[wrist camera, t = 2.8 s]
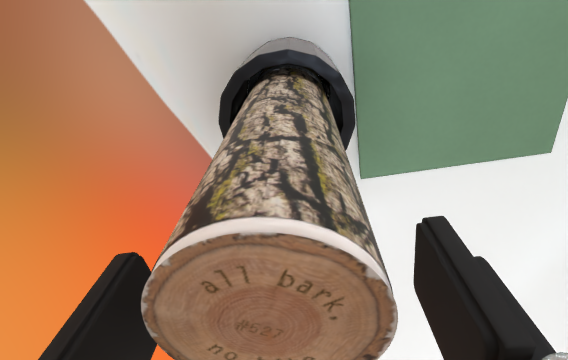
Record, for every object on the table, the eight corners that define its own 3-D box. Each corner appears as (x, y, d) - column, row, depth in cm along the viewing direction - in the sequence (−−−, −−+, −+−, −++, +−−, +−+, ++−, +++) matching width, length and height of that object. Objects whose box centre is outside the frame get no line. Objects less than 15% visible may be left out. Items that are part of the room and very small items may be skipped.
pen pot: (227, 49, 27) (200, 66, 20) (333, 27, 26) (349, 36, 18) (252, 145, 32) (239, 189, 25) (342, 131, 31) (358, 172, 23)
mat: (347, -30, 24) (348, -31, 24) (619, -92, 22) (625, -94, 21) (360, 177, 34) (361, 179, 34) (547, 150, 31) (551, 152, 31)
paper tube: (268, 45, 27) (162, 188, 6) (334, 73, 28) (457, 284, 7) (246, 111, 30) (126, 361, 9) (306, 134, 31) (327, 407, 10)
